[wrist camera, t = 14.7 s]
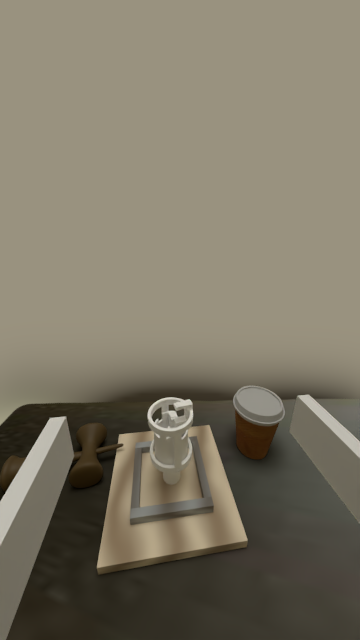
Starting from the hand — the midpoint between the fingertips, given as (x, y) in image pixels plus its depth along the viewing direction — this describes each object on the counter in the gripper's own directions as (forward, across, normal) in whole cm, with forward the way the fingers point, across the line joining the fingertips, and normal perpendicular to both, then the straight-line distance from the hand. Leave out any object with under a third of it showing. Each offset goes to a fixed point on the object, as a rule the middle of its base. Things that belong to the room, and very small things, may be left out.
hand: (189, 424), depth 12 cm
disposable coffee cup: (+22, +18, -30) cm, 41 cm away
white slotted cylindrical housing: (+17, 0, -29) cm, 33 cm away
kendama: (+22, -18, -30) cm, 42 cm away
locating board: (+17, 0, -30) cm, 34 cm away
